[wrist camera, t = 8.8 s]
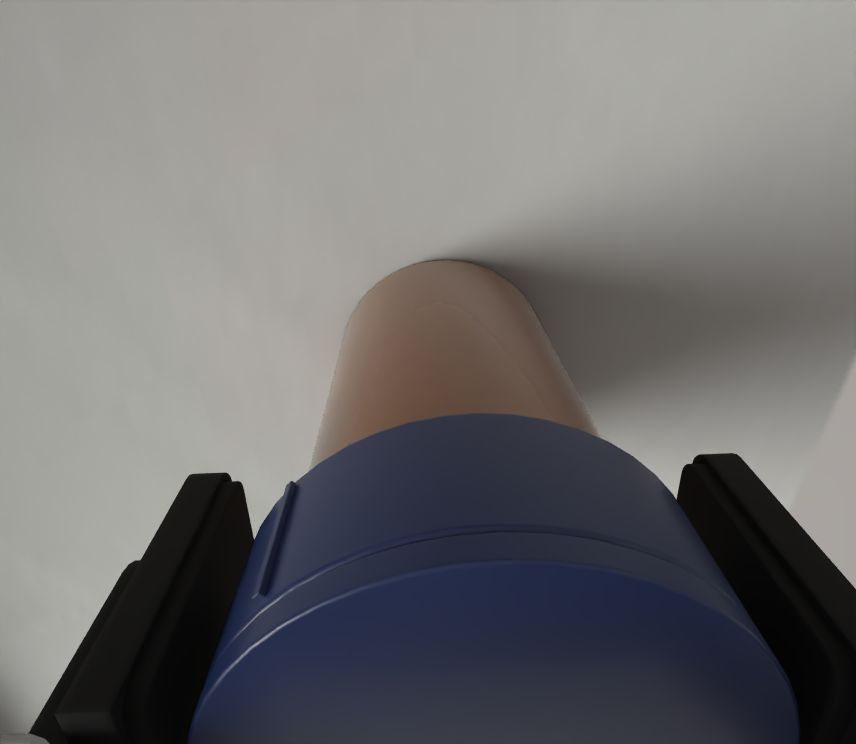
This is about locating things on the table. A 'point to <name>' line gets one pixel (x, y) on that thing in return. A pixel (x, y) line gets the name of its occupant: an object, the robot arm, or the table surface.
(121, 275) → the table surface
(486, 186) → the table surface
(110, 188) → the table surface
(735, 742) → the lid
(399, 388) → the jar
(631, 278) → the table surface
